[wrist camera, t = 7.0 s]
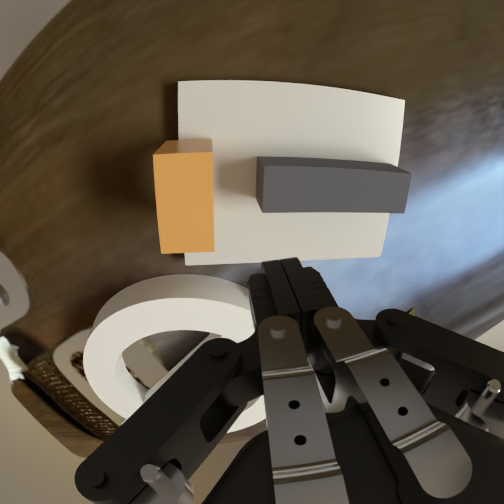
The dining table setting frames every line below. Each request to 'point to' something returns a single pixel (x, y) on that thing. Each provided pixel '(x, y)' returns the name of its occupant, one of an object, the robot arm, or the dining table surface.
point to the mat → (286, 145)
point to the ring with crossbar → (160, 320)
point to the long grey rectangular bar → (329, 185)
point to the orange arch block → (185, 195)
